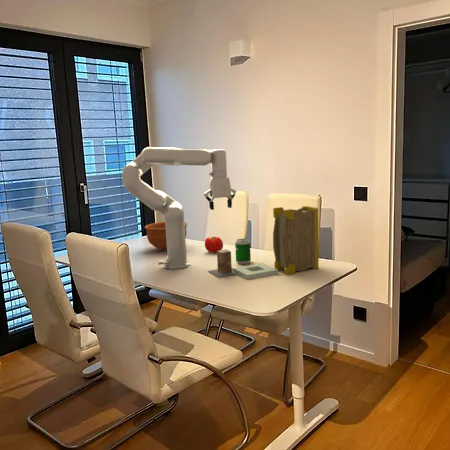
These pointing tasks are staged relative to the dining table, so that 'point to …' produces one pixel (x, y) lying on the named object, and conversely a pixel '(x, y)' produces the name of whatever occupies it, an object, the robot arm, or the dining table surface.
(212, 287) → the dining table surface
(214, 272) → the rubber mat
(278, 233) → the decorative book
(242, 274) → the pocket board
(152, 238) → the bowl
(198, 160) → the robot arm
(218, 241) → the tomato
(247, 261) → the soda can
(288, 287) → the dining table surface
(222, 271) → the walnut block
